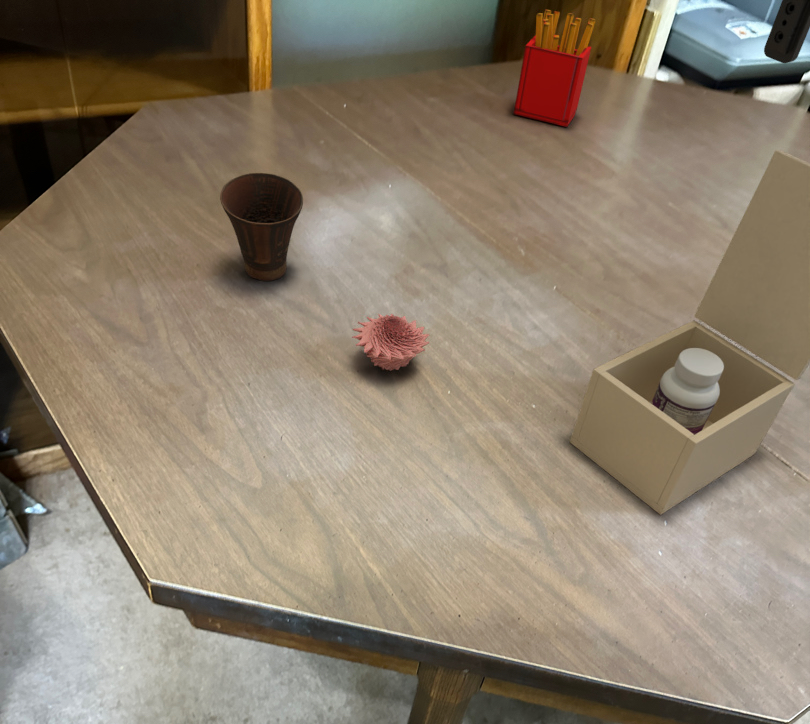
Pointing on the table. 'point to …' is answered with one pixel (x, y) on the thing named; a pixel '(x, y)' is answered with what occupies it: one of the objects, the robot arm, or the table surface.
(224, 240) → the table surface
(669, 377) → the pill bottle
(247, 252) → the cup
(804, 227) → the box lid
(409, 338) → the flower
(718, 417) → the tan wooden box
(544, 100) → the french fries container
